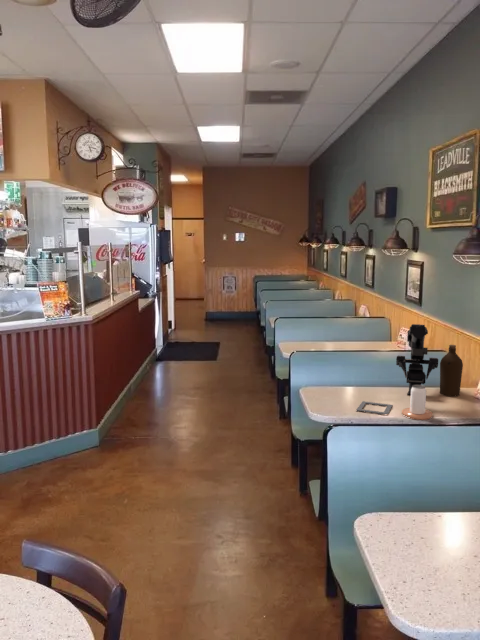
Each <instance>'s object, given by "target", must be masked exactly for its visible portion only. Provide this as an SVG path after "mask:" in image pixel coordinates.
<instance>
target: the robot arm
mask: <svg viewBox="0 0 480 640" xmlns="http://www.w3.org/2000/svg"><path fill="white" fill-rule="evenodd" d="M427 335H429V331H428V329H427V327H426V326H425V324H420V323H419V324H418V323H416V324H415V323H412V324H411V326H409V330H407V337H406V338H407V339H406V340H407V343H408V347H410V358H406V356H405V355H397V356H396V361H395V362H396V363H395V365H396V366H398V367H399V368H401V370H402V372H403V374H404V377H405V379H406V383H407V384H408V392H407V393H406V395H407V396H411V388H412V386H413V385H425V384H426V380H428V379H429V376H430V373H431V372H432V371H433V370H435V369H438V366H439V358H438V357H429V359H425V355H428V350H429V349H428V347H425V339H426V336H427ZM407 364H409V365H408V369H407ZM424 365H428V366H427V371H426V373H425V371H424Z"/></svg>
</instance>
